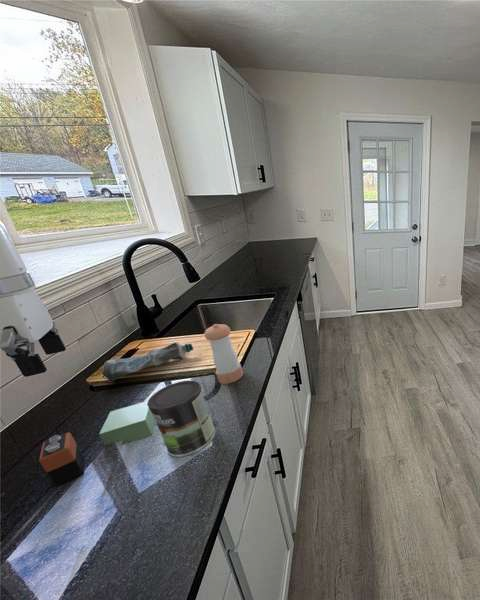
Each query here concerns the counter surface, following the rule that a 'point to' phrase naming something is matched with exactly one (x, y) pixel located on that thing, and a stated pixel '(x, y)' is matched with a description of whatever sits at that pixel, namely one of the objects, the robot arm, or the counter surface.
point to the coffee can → (182, 418)
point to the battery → (62, 459)
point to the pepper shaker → (223, 354)
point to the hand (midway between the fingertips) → (47, 362)
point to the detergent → (144, 360)
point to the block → (128, 424)
